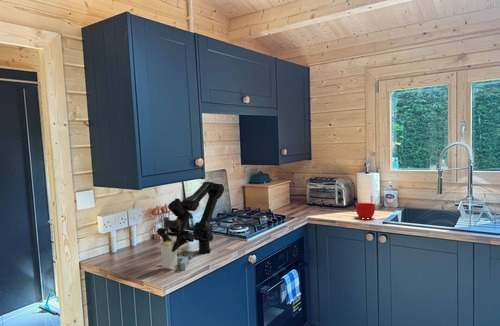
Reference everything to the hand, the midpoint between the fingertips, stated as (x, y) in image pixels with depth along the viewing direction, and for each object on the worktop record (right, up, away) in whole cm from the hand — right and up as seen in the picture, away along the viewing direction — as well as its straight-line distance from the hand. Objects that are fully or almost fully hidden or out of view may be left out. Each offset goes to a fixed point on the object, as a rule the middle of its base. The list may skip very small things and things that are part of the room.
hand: (167, 251), depth 163 cm
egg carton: (+4, -8, +14) cm, 17 cm away
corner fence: (+2, -9, +4) cm, 10 cm away
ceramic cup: (+119, +1, +90) cm, 149 cm away
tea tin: (0, -7, +1) cm, 7 cm away
